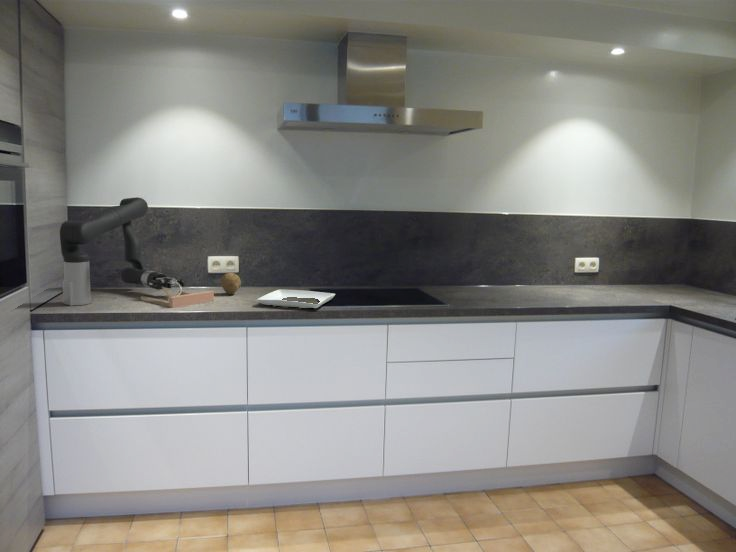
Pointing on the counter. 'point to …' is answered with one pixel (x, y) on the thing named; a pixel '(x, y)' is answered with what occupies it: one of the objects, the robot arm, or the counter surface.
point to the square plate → (278, 295)
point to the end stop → (191, 299)
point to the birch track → (160, 300)
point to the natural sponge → (230, 283)
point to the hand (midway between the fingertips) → (177, 284)
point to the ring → (173, 283)
